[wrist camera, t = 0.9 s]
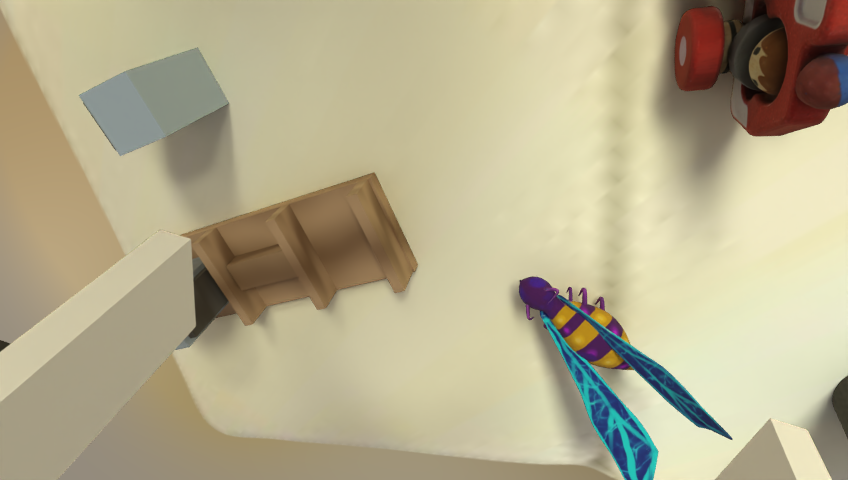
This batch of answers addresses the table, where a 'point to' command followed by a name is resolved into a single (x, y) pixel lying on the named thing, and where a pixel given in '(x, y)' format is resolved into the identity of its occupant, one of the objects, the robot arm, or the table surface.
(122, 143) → the blue gray block
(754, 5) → the toy fire truck
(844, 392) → the coffee cup
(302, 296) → the wooden block holder
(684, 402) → the toy
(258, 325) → the table surface
